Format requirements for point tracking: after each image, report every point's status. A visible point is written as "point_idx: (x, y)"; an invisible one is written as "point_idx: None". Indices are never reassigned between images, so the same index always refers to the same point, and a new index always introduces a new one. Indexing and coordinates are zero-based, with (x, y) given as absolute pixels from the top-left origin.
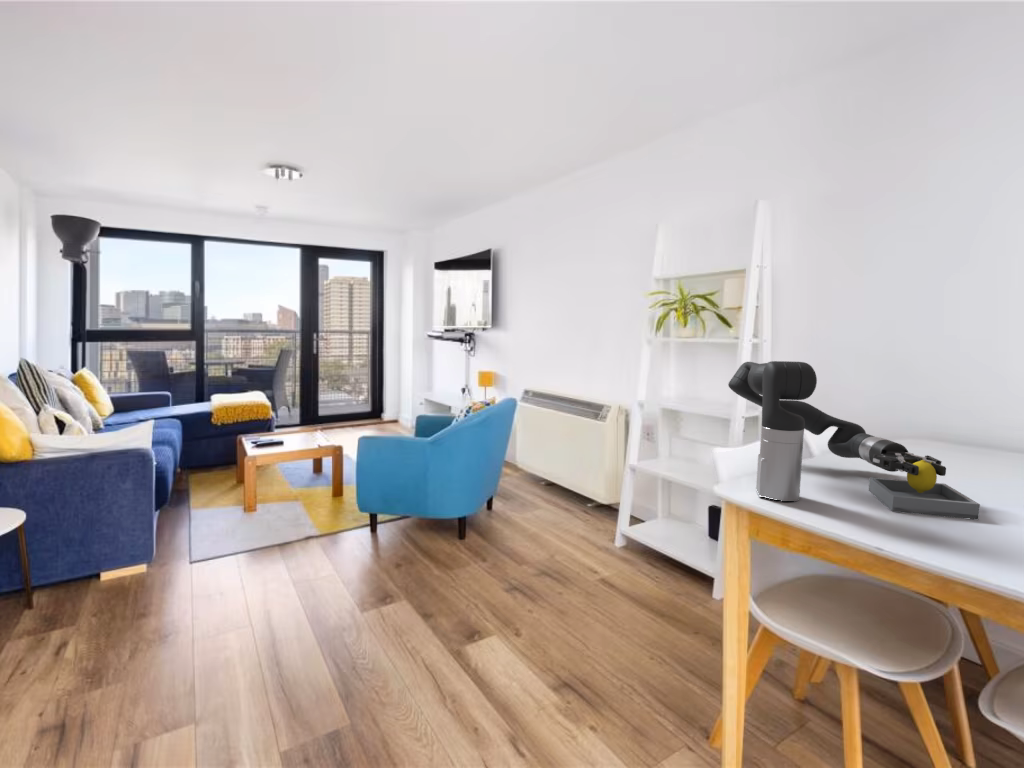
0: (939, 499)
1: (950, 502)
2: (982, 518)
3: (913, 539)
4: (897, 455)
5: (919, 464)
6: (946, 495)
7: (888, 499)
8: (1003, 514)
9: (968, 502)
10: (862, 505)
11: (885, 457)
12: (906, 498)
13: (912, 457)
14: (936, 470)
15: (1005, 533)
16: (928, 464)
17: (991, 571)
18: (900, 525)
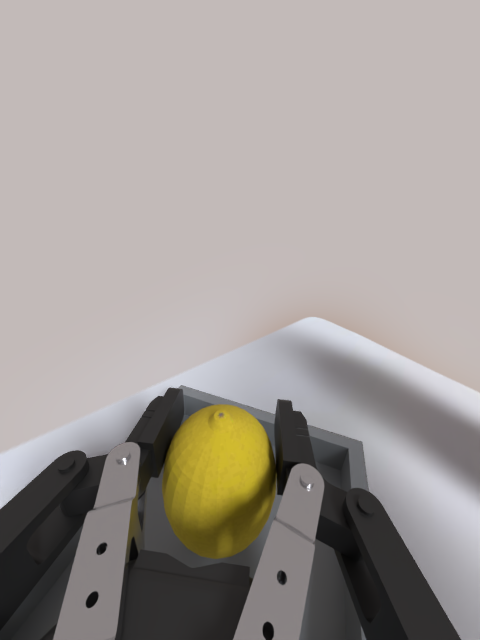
0: None
1: (230, 402)
2: None
3: (357, 365)
4: (289, 618)
5: (251, 418)
6: (64, 562)
7: None
8: (73, 436)
9: (193, 394)
10: (438, 538)
11: (415, 635)
12: (326, 432)
13: (122, 613)
14: (171, 430)
15: (206, 369)
16: (216, 406)
17: (313, 324)
18: (359, 400)
